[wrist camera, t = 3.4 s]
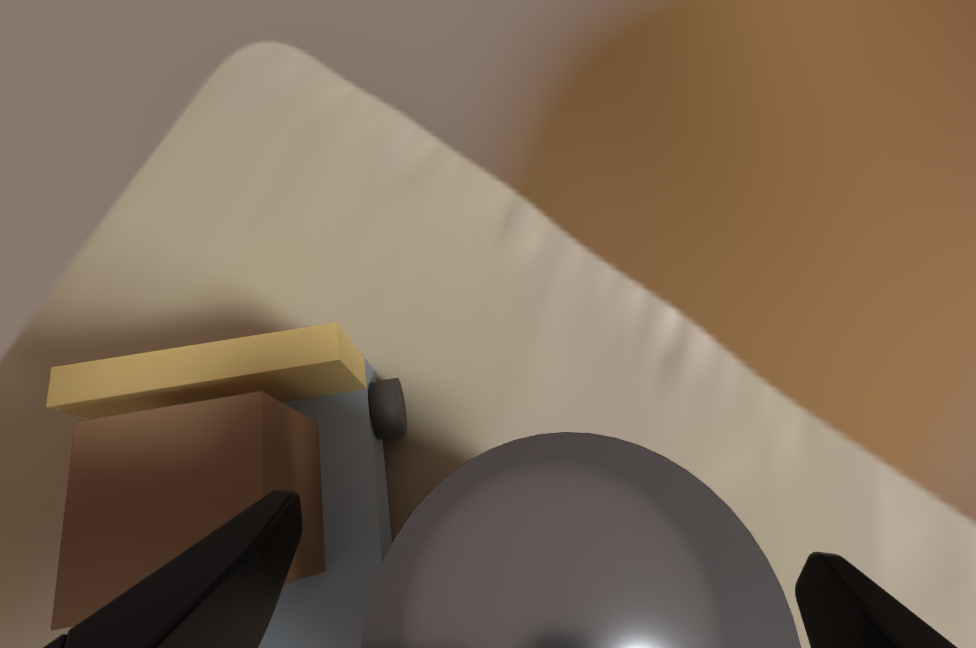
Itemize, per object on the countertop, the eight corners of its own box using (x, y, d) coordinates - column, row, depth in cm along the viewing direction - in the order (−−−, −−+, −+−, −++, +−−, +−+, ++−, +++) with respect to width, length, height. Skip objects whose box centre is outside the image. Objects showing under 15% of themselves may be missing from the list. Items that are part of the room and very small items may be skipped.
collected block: (325, 570, 14) (264, 590, 10) (173, 599, 13) (50, 630, 10) (318, 423, 15) (261, 391, 11) (179, 446, 15) (74, 421, 11)
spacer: (611, 520, 16) (837, 520, 6) (566, 677, 14) (761, 1072, 4) (478, 466, 16) (461, 376, 6) (422, 612, 15) (275, 815, 5)
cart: (462, 910, 13) (447, 1126, 8) (98, 993, 12) (-132, 1271, 8) (400, 368, 18) (370, 317, 13) (140, 411, 17) (15, 372, 13)
